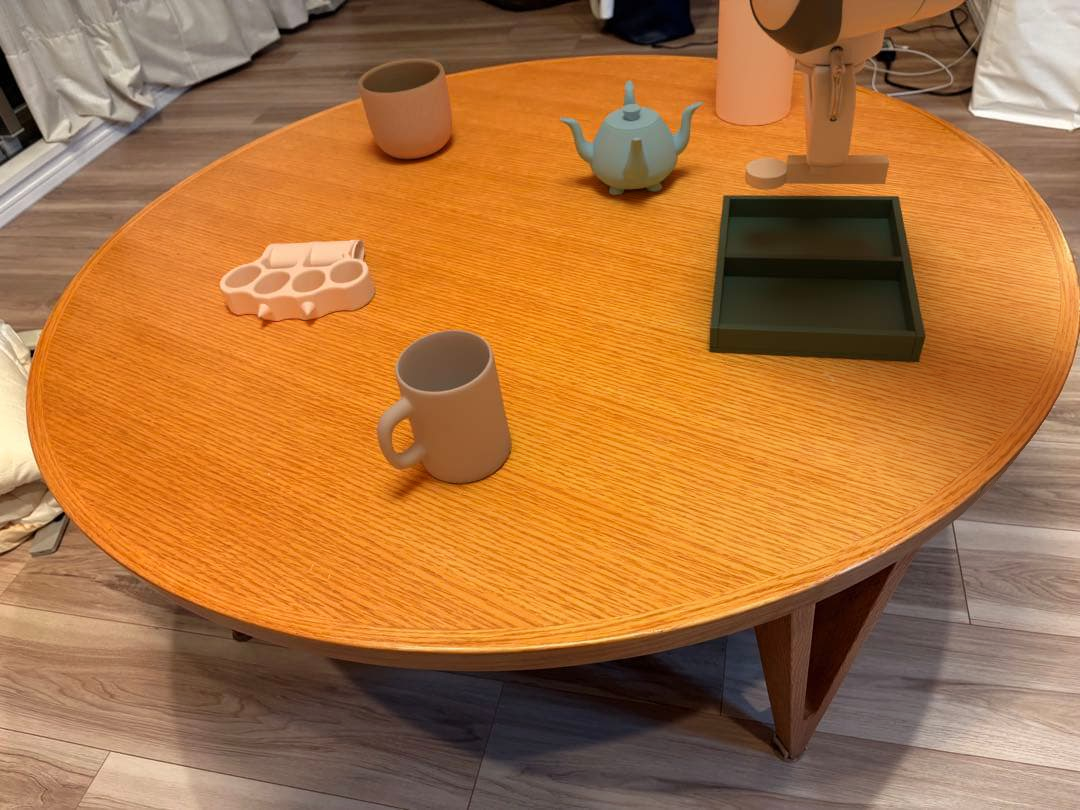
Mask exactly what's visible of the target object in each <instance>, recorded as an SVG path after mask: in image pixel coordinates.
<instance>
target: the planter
mask: <svg viewBox="0 0 1080 810" xmlns="http://www.w3.org/2000/svg"><path fill="white" fill-rule="evenodd" d="M357 87H358V91H359V94H360V98H361V102H362V105H363V109H364V112H365V113H364V114H365V116H366V119H367V122H368V125H369V126H368V127H369V129H370V132H371V134H372V136H373V140H374V141H375V143H376V144H377V145H378V147H379V148H380V149H381V150H382V151H383V152H384V153H386V154H387V155H389V156H391V157H392V158H396V159H399V160H400V159H401V160H414V159H421V158H425V157H428V156H430V155H431V156H432V155H433V154H435V153H437V152H438V151H440V150H441V149H442V148H443V147H444V146H446V144H447V143H448V141H449V139H450V137H451V136H452V135H451V134H452V129H453V113H452V106H451V100H450V93H449V89H448V83H447V76H446V73H445V68H444V66H443V64H442V63H440V62H439V61H437V60H433V59H429V58H404V59H398V60H392V61H390V62H386V63H385V62H384V63H383V64H380V65H377V66H375V67H372V68H371V69H369V70H368V71H366V72H364V73H363V74H362V75H361V76H360V77H359V78H358V81H357Z"/></svg>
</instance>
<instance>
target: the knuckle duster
mask: <svg viewBox="0 0 1080 810" xmlns="http://www.w3.org/2000/svg"><path fill="white" fill-rule="evenodd" d="M364 255H365V243H364V241H363V240H361V239H357V238H356V239H350V240H332V241H331V240H329V241H309V242H293V243H292V242H290V243H279V242H278V243H270V244H269V245H268V246H266V248H265V250H264V251H263V253H262V254H261V256H260V257H259V258H257V259H256V260H254V261H252V262H250V263H249V262H248V263H244V264H241V265H239V266H237V267H234V268H232V269H231V270H229V271H228V272H226V273H225V274H224V275H223V276H222V277H221V279H220V281H219V289H220V291H221V293H222V296H223V298H224V300H225V302H226V305H227V306H228V309H229V311H230V312H232V313H233V314H234V315H235V316H236V315H237V316H244V315H254V316H257V319H260V318H261V319H262V320H266V321H273V322H280V321H283V320H289V319H298V320H303V321H309V320H314V319H318V318H319V319H320V318H323V317H324V316H326V315H328V314H331V313H335V312H339V311H350V312H353V311H356V310H359V309H361V308H363V307H365V306H366V305H367V304H369V303H370V302H371V301H372V300H373V298H375V293H376V287H375V284H374V281H373V278H372V274H371V271H370V268H369V265H368V264H367V263H366V262H365V261H364V257H365V256H364Z"/></svg>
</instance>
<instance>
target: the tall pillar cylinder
mask: <svg viewBox="0 0 1080 810" xmlns="http://www.w3.org/2000/svg"><path fill="white" fill-rule="evenodd" d="M718 5H719V7H718V31H717V34H718V35H717V61H716V83H715V84H716V87H715V88H716V89H715V115H716V116H717V117H718V118H719V119H720V120H721V121H724V122H726V123H728V124H732V125H737V126H746V127H747V126H749V127H752V126H763V125H764V126H765V125H769V124H774V123H777V122H778V121H779V122H780V121H781V120H783V119H784V118H786V117H787V116H788V115H789V114H790V112H791V107H792V98H793V97H792V96H793V87H794V77H795V67H796V59H795V58H793V57H791V56H790V55H789V54H788V53H787V52H786V50H785V48H784V47H783V46H781V45H780V44H778V43H777V42H775V41H774V40H773V39H772V38H770V37H769V36H768V35H767V34H766V33H765V32H764V31H763V30H762V29H761V27H760V26H759V25H758V23H757V22H756V20H755V18H754V16H753V13H752V10H751V6H750V1H749V0H719V4H718Z"/></svg>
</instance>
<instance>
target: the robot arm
mask: <svg viewBox="0 0 1080 810" xmlns="http://www.w3.org/2000/svg"><path fill="white" fill-rule="evenodd" d="M749 1H750V6H751V10H752V13H753V16H754V18H755V20H756V22H757V23H758V25H759V26H760V27H761V29H762V30H763V31H764V32H765V33H766V34H767V35H768V36H769V37H770V38H772V39H773V40H774V41H775V42H777V43H778V44H780V45H781V46H783V47H784V48H785V50H786V52H787V53H788V54H789V55H790V56H791V57H793V58H795V60H796V68H797V69H798V70H799V71H800V72H801V73H802V83H803V85H802V86H803V107H804V127H805V128H804V130H805V131H804V132H805V150H806V153H805V155H807V164H808V165H809V173H810V175H812V176H824V175H826V174H827V172H828V167H842V166H844V165H845V164H846V162H847V159H848V156H849V155H850V148H851V141H852V136H853V135H852V134H853V128H854V121H855V111H856V102H857V81H856V74H857V73H859V72H860V71H862V70H863V69H864V68H865V66H866V63H867V60H869V59H871V58H873V57H875V56H877V55H878V54H879V53H880V52H881V50H882V49H883V45H884V38H885V32H886V30H888V29H892V28H896V27H899V26H900V27H901V26H903V25H905V24H910V23H914V22H918V21H923V20H925V19H930V18H933V17H937V16H939V15H943V14H945V13H948V12H950V11H954V10H956V9H958V8H960V7H961V6H962V5H964V4H965V3H966V2H967V1H968V0H749Z"/></svg>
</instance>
